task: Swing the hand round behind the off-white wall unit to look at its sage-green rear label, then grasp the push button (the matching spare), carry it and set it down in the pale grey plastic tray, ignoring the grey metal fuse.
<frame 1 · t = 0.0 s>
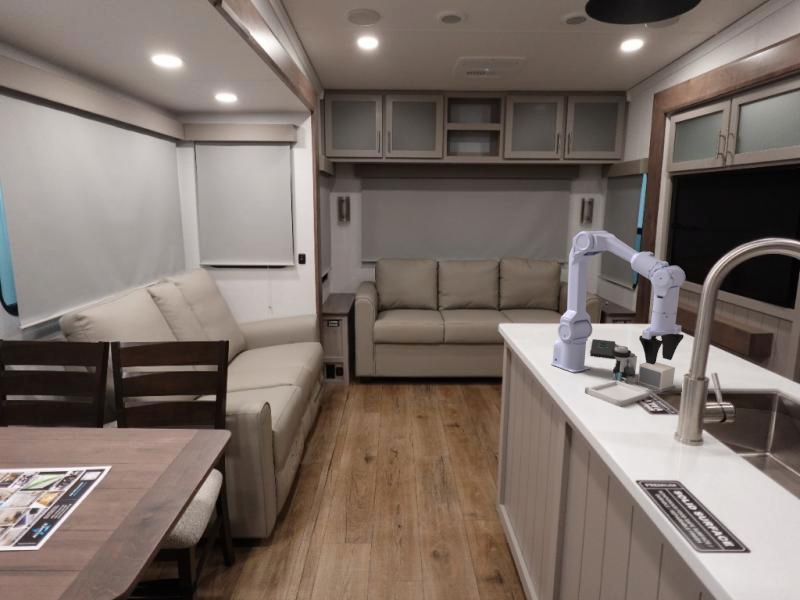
hand: (658, 361, 133), 10 cm above the worktop, fingers open, 7 cm apart
tray: (616, 394, 135), on the worktop
wall unit: (654, 385, 143), on the worktop
smart home device: (602, 351, 178), on the worktop
push button: (619, 380, 147), on the worktop
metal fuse: (628, 374, 152), on the worktop
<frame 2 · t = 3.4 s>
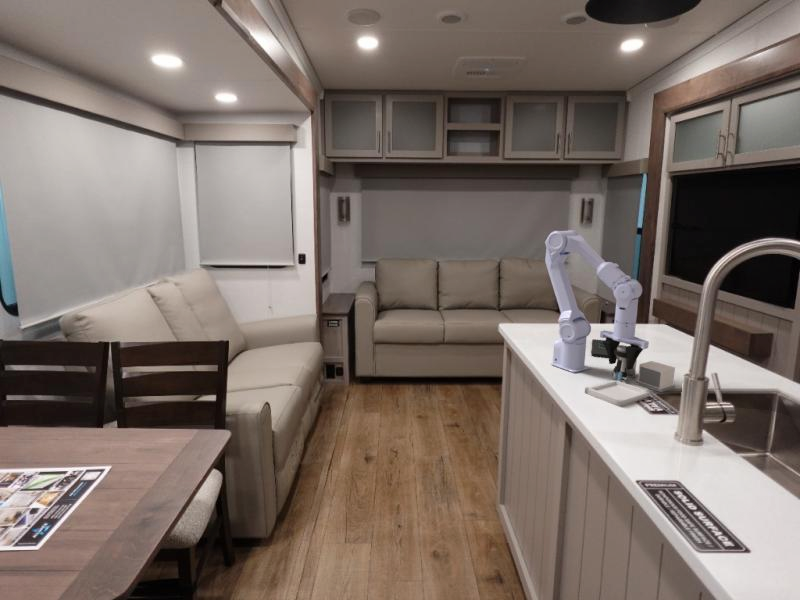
hand: (620, 366, 146), 4 cm above the worktop, fingers closed on push button, 5 cm apart
push button: (619, 380, 147), on the worktop, touching gripper
everything else where it was.
when the fingers open (6 cm above the worktop, at t = 6.4 s): push button stays where it is, resting on tray.
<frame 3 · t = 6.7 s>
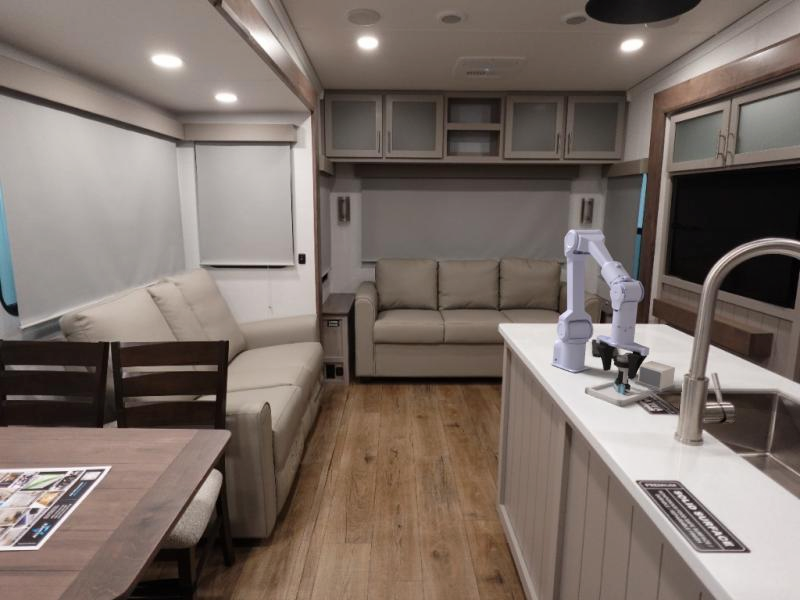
hand: (618, 374, 134), 6 cm above the worktop, fingers open, 7 cm apart
push button: (622, 392, 136), resting on tray
everything else where it was.
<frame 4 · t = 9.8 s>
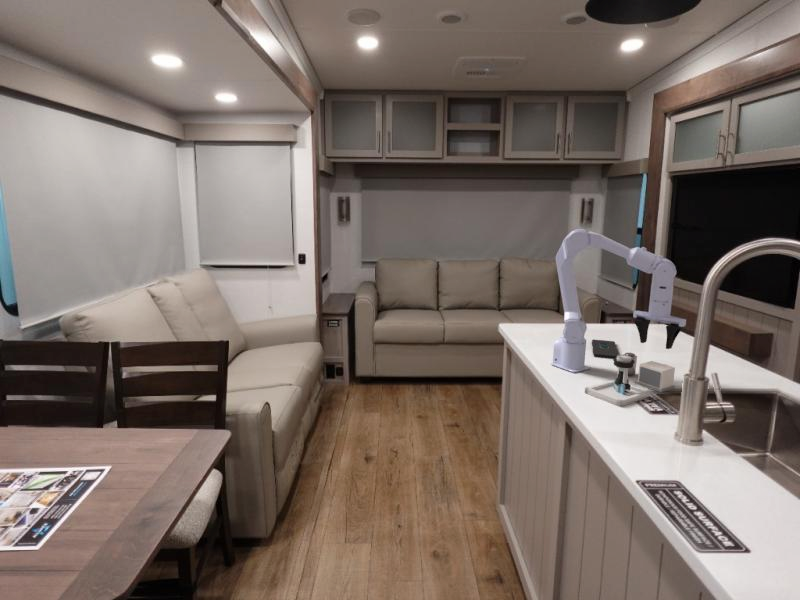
hand: (655, 345, 147), 10 cm above the worktop, fingers open, 7 cm apart
nothing on the worktop moved.
at the end: push button inside the target area on the tray (1.6 cm from its centre), point 0.4 cm above the tray's base; push button tilted 0°; the gripper is holding nothing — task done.
